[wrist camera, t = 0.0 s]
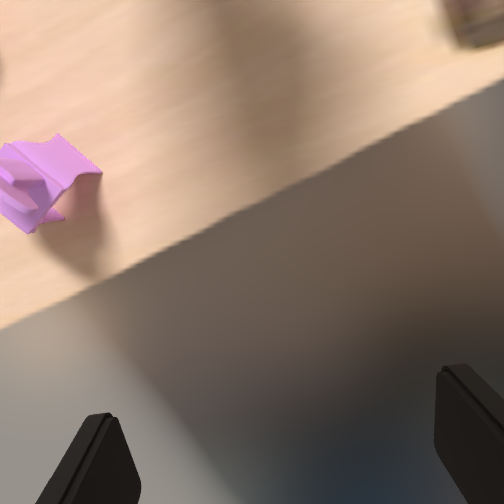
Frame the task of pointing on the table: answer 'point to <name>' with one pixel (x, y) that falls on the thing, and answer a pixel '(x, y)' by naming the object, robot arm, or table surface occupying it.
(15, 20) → the table surface
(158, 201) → the table surface
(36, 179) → the toy chair
